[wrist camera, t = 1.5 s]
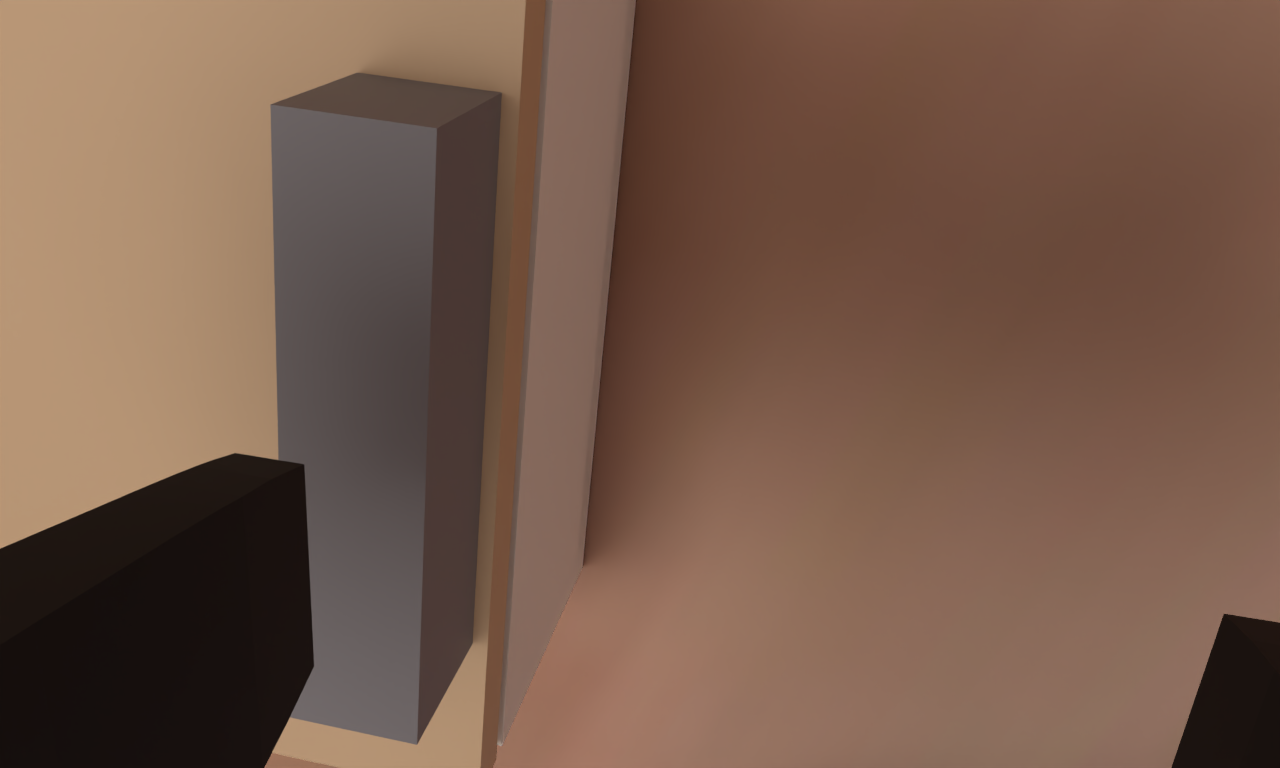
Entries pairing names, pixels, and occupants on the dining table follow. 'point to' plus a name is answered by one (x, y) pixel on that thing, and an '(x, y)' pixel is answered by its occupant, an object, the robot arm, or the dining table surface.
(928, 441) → the dining table surface
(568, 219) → the mailer base
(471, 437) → the mailer lid
